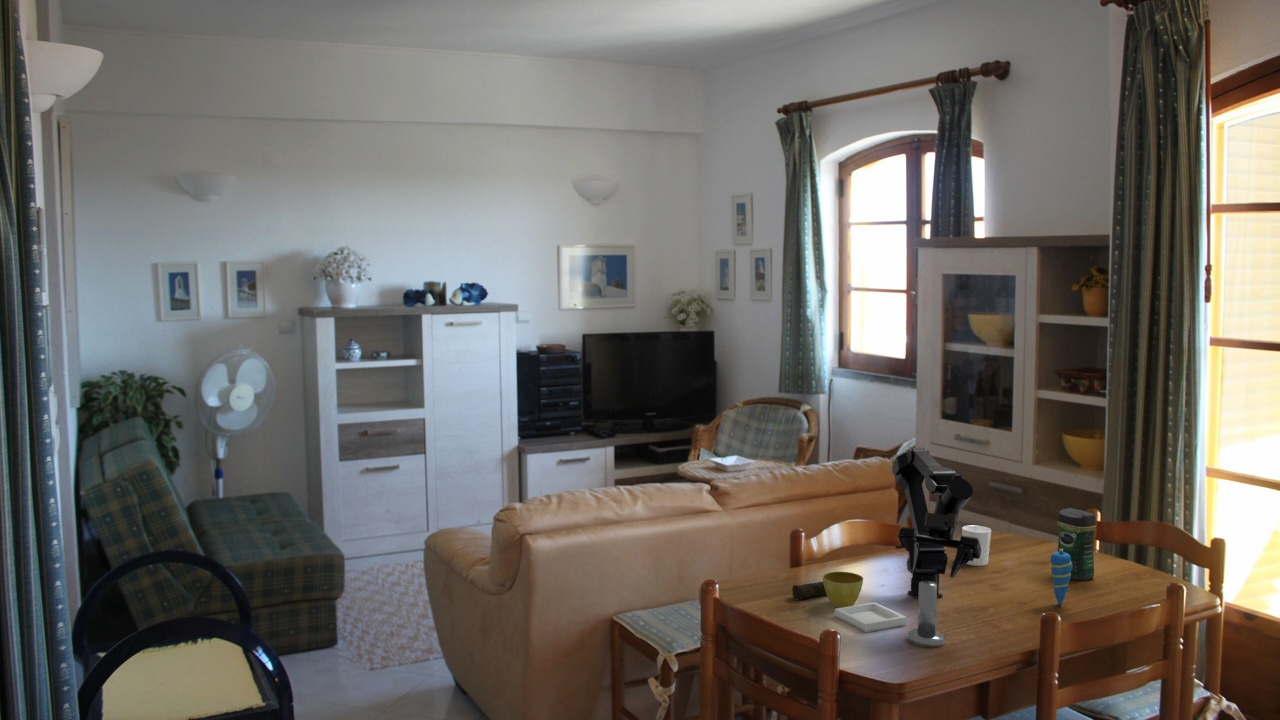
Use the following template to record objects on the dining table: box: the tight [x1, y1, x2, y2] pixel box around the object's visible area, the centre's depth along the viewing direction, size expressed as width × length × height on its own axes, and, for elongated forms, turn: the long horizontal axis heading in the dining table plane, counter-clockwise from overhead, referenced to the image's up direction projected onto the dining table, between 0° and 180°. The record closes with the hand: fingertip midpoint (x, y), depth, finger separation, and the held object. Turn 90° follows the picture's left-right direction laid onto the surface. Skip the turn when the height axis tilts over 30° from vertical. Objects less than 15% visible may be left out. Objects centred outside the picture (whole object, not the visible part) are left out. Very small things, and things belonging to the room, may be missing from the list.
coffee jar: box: [1056, 507, 1097, 581], centre depth 285 cm, size 10×8×19 cm
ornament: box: [1050, 548, 1073, 606], centre depth 261 cm, size 5×5×15 cm
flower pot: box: [822, 571, 864, 608], centre depth 260 cm, size 10×10×7 cm
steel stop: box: [907, 581, 946, 648], centre depth 236 cm, size 8×8×14 cm
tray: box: [834, 601, 907, 634], centre depth 249 cm, size 12×12×2 cm
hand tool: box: [791, 580, 827, 601], centre depth 268 cm, size 19×4×5 cm, turn 115°
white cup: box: [961, 524, 992, 567], centre depth 297 cm, size 8×8×10 cm
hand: (931, 573), depth 242 cm, fingers open, 9 cm apart
